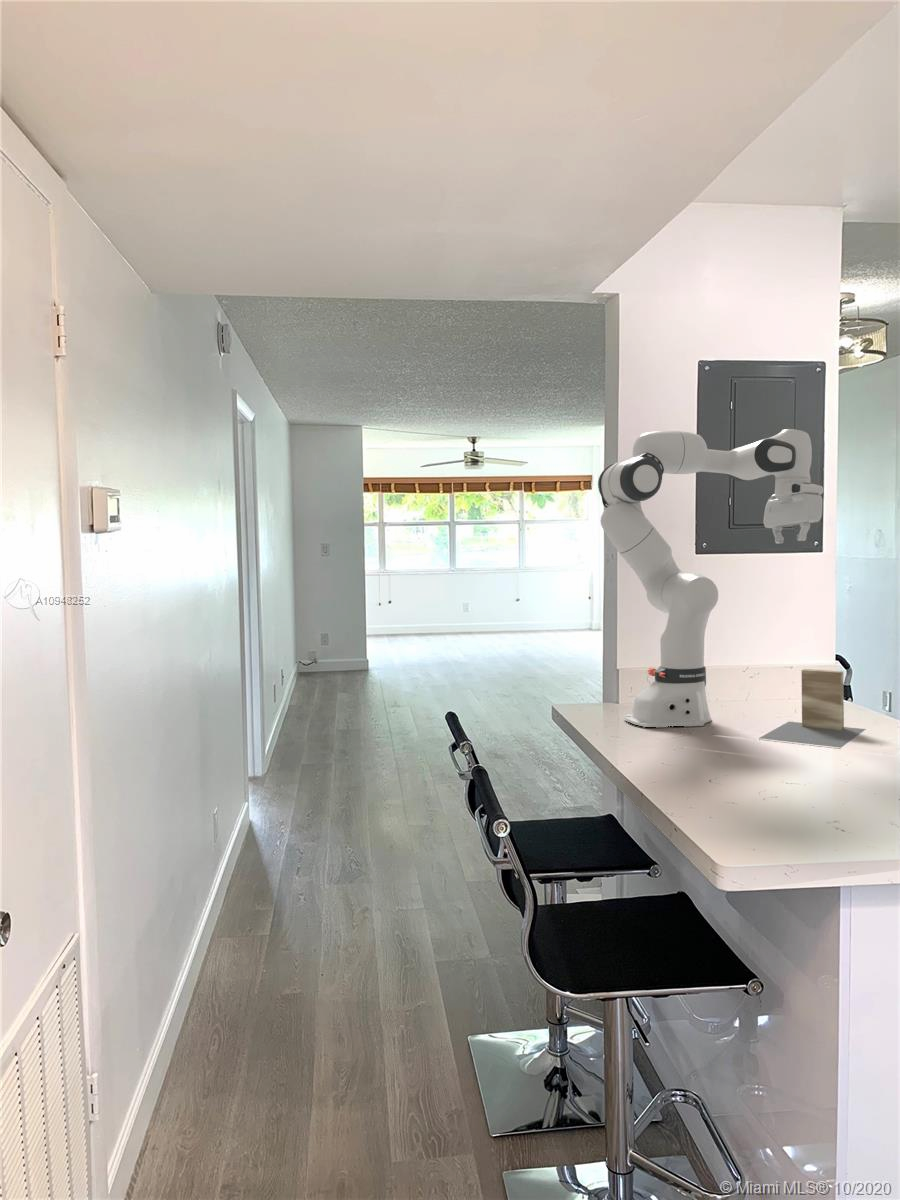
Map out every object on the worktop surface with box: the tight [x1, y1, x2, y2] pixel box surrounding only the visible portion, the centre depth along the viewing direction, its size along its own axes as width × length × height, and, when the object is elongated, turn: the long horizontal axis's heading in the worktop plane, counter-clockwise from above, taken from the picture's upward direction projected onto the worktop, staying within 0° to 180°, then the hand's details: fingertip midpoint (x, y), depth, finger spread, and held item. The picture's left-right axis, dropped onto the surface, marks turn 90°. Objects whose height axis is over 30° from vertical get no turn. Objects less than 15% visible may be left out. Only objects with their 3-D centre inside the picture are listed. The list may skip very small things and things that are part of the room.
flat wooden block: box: [801, 668, 845, 730], centre depth 206 cm, size 3×9×14 cm, turn 51°
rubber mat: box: [758, 721, 866, 750], centre depth 200 cm, size 22×18×1 cm
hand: (790, 542), depth 226 cm, fingers open, 8 cm apart
